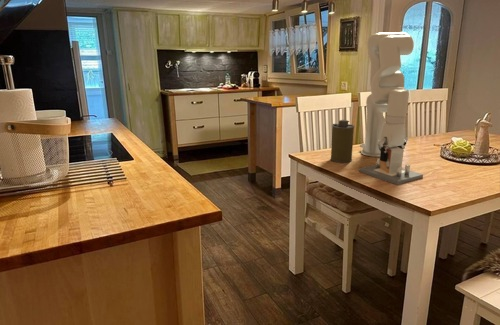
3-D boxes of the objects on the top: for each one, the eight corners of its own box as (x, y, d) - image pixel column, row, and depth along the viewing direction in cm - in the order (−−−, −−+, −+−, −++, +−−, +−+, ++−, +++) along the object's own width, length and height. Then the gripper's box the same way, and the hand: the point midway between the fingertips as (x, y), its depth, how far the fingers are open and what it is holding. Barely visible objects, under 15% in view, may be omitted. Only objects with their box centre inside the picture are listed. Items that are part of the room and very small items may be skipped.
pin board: (359, 171, 151) (359, 167, 151) (383, 165, 159) (384, 162, 158) (396, 184, 135) (397, 180, 134) (422, 177, 142) (423, 173, 141)
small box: (379, 168, 150) (381, 145, 147) (391, 167, 150) (393, 144, 147) (388, 173, 142) (391, 149, 139) (401, 173, 143) (404, 149, 140)
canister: (356, 160, 168) (359, 120, 162) (343, 164, 162) (346, 123, 156) (338, 155, 176) (340, 117, 171) (325, 159, 170) (327, 120, 164)
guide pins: (371, 168, 151) (372, 159, 149) (382, 165, 154) (383, 157, 153) (399, 177, 139) (400, 168, 137) (410, 174, 142) (411, 165, 140)
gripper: (401, 116, 147) (397, 154, 152) (373, 120, 139) (370, 160, 144) (417, 118, 141) (412, 158, 146) (388, 123, 133) (384, 164, 138)
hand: (391, 159), depth 145 cm, fingers open, 9 cm apart
